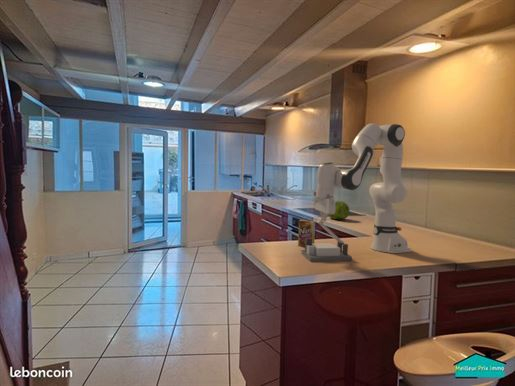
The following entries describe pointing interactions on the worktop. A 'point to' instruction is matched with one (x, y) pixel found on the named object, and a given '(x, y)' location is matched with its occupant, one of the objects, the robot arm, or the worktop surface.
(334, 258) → the heatsink board
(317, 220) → the strap
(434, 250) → the worktop surface
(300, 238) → the candy box
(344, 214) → the lettuce
